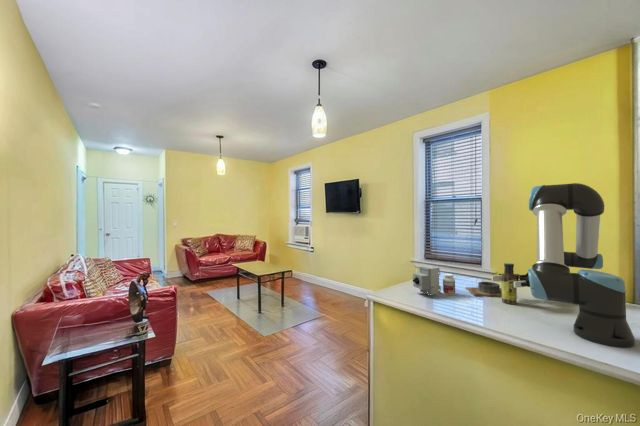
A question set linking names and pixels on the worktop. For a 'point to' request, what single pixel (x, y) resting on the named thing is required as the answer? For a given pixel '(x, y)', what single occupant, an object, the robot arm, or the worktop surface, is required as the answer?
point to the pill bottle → (449, 284)
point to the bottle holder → (486, 289)
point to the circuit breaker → (427, 279)
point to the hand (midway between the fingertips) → (502, 281)
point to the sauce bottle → (509, 284)
